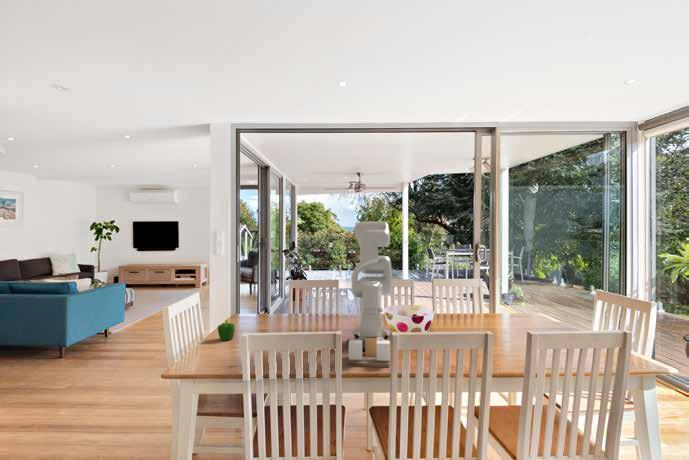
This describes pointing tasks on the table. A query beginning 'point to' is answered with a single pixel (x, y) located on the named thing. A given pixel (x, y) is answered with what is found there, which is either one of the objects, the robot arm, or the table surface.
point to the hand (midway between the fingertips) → (371, 349)
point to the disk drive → (362, 343)
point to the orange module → (371, 346)
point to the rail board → (369, 361)
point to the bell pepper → (226, 331)
